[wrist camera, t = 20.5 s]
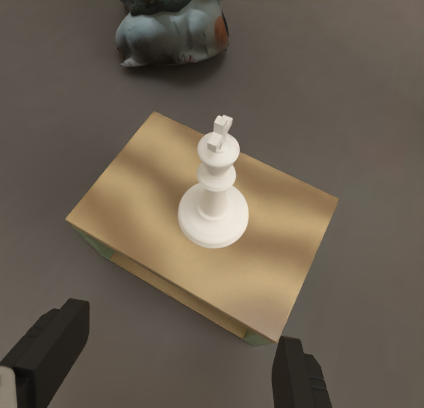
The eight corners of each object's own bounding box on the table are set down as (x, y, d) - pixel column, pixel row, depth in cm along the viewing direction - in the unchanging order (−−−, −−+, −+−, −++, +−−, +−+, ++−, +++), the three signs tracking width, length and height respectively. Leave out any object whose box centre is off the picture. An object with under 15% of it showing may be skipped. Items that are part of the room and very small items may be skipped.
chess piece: (164, 230, 22) (139, 142, 13) (197, 173, 24) (194, 63, 15) (231, 260, 21) (253, 190, 12) (259, 200, 23) (295, 100, 14)
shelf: (165, 168, 34) (153, 110, 26) (303, 239, 32) (339, 198, 23) (101, 255, 30) (64, 219, 22) (254, 346, 27) (277, 343, 19)
